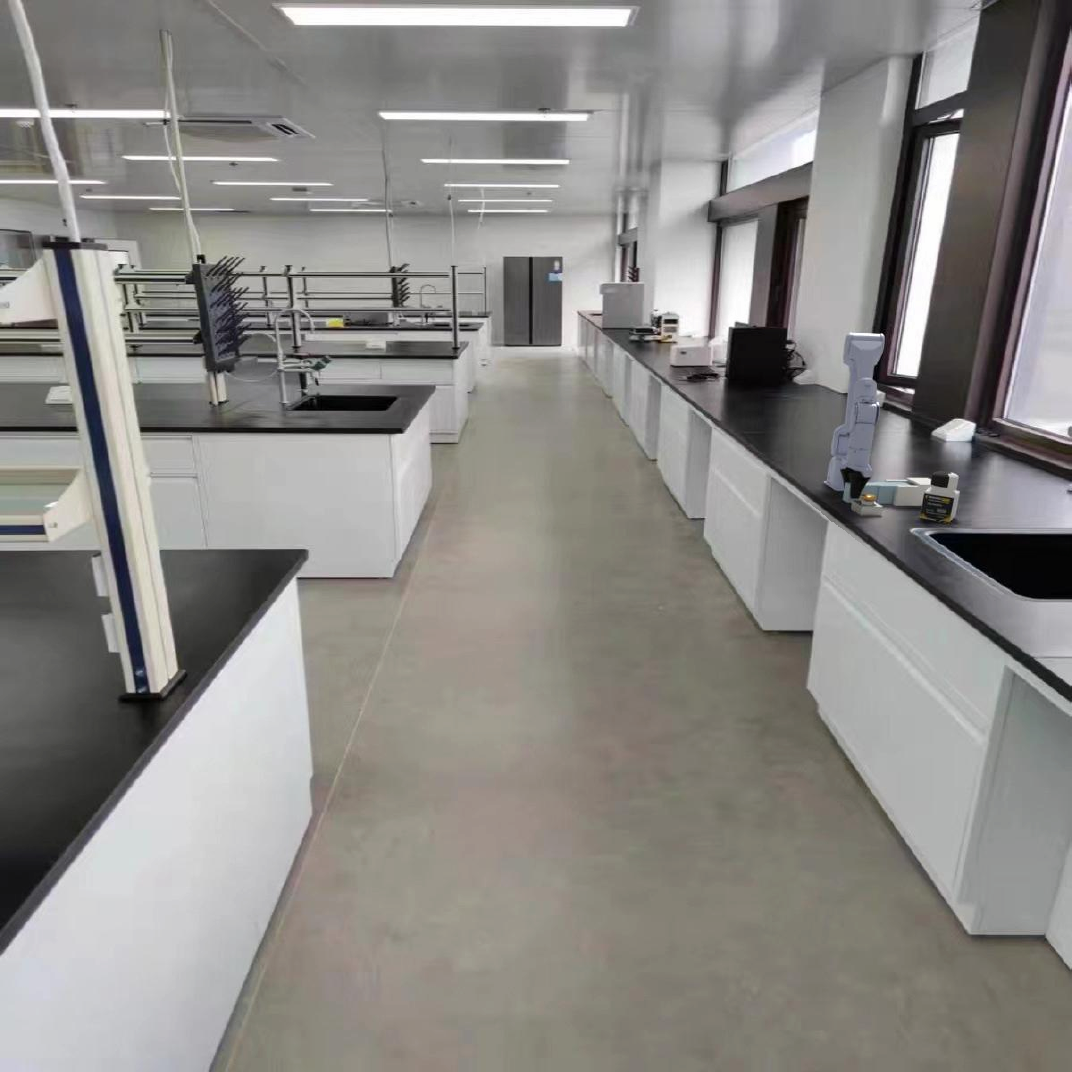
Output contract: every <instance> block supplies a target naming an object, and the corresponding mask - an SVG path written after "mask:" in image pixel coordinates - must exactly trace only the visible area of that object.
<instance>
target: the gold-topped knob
mask: <svg viewBox="0 0 1072 1072" xmlns="http://www.w3.org/2000/svg"><path fill="white" fill-rule="evenodd" d="M876 498H877V497H876V496H875V495H871V494H862V495H861V499H862V502H861V504H862V505H864V506H873V505H874V500H876Z"/></svg>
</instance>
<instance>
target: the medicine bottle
mask: <svg viewBox="0 0 1072 1072" xmlns="http://www.w3.org/2000/svg"><path fill="white" fill-rule="evenodd" d="M930 479H931V483H930V488H928V489H927V490H926V491H925V492H924V495H923V501H922V506H921V507H920V511H919V518H920V519H925V520H931V521H936V520H940V521H939V522H941V521H947V522H950V521H951V520H952V521H953V519H955V517H956V512H957V508H958V505H959V499H960V495H961V494H960V493H961V492H960V490H957V488H958V482H959V475H958V474H956V473H954V472H950V471H947V470H943V471H941V470H939V471H934V472H933V473H932V474H931V478H930ZM952 521H951V522H952ZM951 522H950V523H951Z"/></svg>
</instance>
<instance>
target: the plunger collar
mask: <svg viewBox="0 0 1072 1072" xmlns="http://www.w3.org/2000/svg"><path fill="white" fill-rule="evenodd" d="M861 502H862V501H852V503H851V508H850V510H852V511H853V512H855V511H856V512H857V513H856V512H855V513H856V514H858V513H859V514H860V515H859V514H858V515H859V516H883V509H884V506H883V505H882V504H878V503H876V502H874V505H873V506H864V505H862V504H861Z"/></svg>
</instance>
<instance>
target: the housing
mask: <svg viewBox="0 0 1072 1072" xmlns="http://www.w3.org/2000/svg"><path fill="white" fill-rule="evenodd" d="M884 482H905V483H907V484H909V485H911V486H903V485H896V489H895V495H894V501H893V504H892V505H893V506H896V507H898V506H901V507H903V506H904V507H905V506H906V507H907V506H908V507H910V506H911V507H920V506H922V501H923V495H924V492H925V491H926V490H927V489H928V488H930V483H931V478H929V477H906V479H885V480H884Z"/></svg>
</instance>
